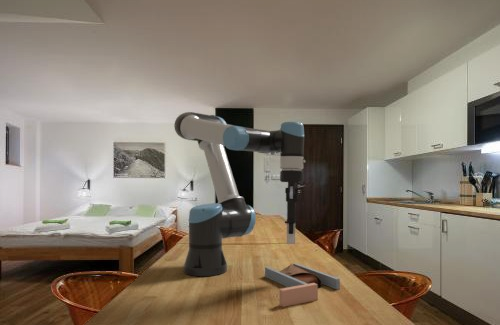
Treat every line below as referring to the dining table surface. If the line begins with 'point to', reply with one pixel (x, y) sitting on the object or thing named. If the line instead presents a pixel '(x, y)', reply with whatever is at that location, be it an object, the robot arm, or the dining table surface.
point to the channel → (291, 281)
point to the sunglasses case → (301, 275)
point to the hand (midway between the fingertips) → (290, 243)
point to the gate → (298, 294)
